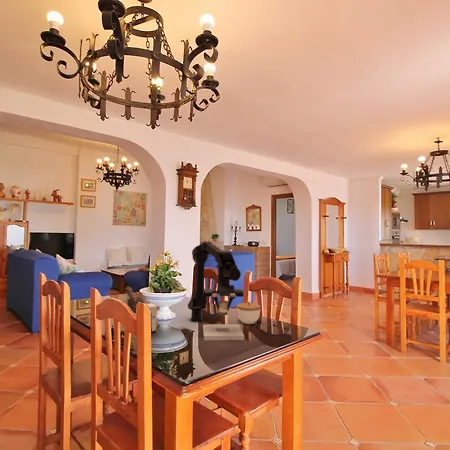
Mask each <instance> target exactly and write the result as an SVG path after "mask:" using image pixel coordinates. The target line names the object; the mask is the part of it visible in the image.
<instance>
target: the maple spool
mask: <svg viewBox="0 0 450 450" xmlns="http://www.w3.org/2000/svg"><path fill="white" fill-rule="evenodd" d="M218 307H219V311H218V310H217V314H218V315H219V316H228V312H229V311H228V300H218Z"/></svg>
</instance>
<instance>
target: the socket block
mask: <svg viewBox="0 0 450 450" xmlns="http://www.w3.org/2000/svg"><path fill="white" fill-rule="evenodd" d="M202 333H203V334H202V335H203V340H204V341H245V334H244V333H243V330H242V328H241V326H240V324H238V323H237V324H236V323H235V324H234V323H233V324H231V323H230V324H229V323H228V324H226V323H225V324H221V323H220V324H218V323H217V324H202Z"/></svg>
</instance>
